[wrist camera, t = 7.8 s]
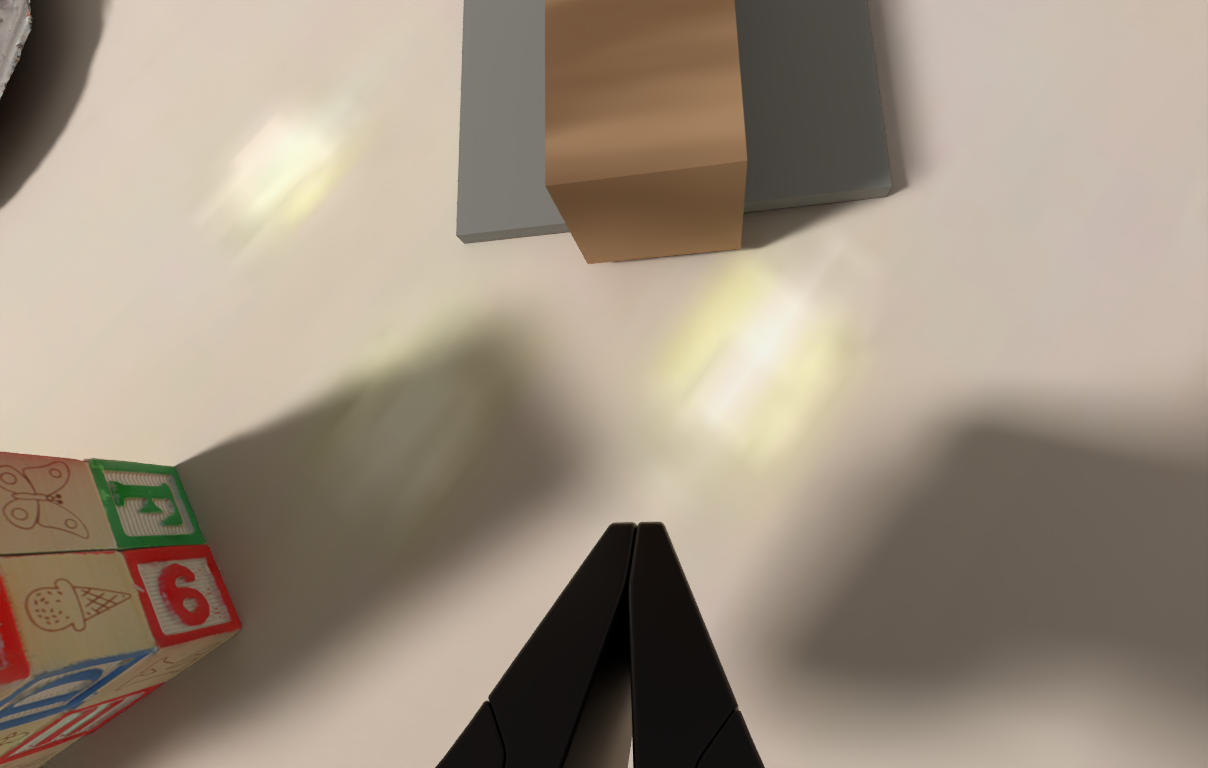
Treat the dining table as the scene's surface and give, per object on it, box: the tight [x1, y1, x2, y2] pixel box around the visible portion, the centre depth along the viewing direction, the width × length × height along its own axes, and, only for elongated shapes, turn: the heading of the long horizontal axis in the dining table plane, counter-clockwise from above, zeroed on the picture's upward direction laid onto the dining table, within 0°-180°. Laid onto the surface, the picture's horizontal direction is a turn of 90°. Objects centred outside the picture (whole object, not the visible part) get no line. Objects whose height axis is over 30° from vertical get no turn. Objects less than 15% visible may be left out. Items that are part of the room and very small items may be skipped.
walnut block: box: [545, 0, 747, 264], centre depth 16 cm, size 4×4×11 cm
